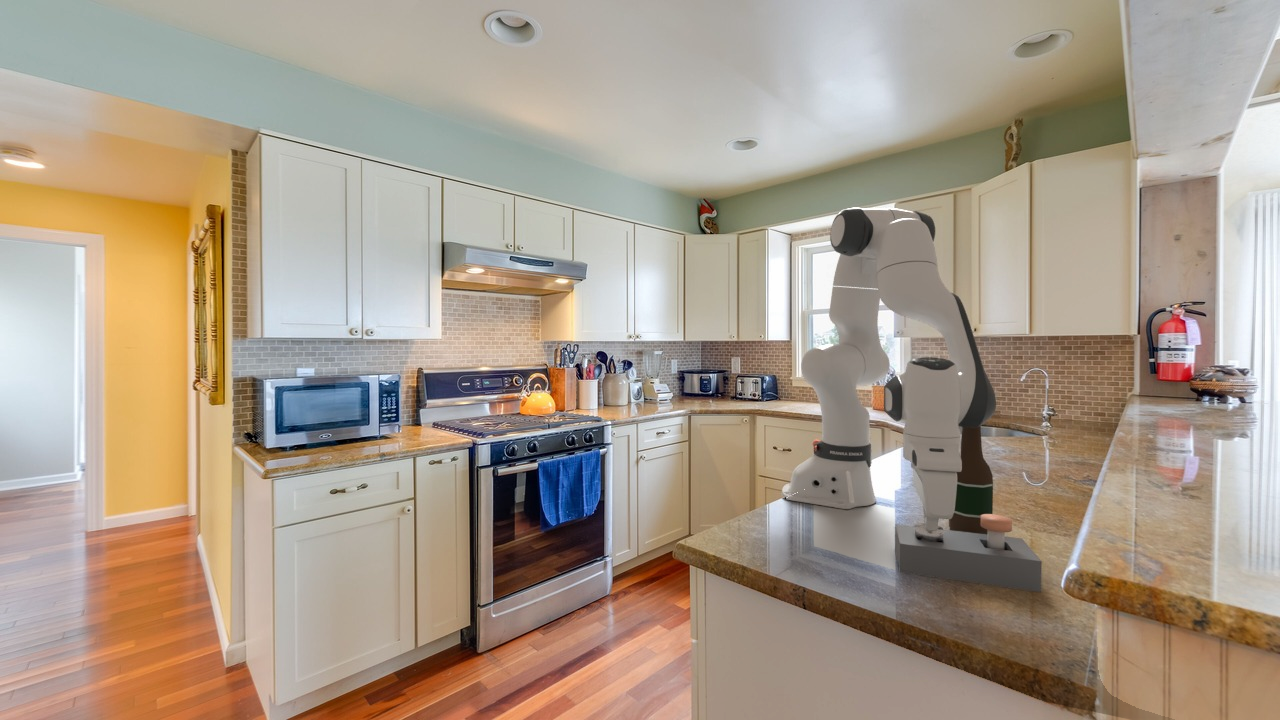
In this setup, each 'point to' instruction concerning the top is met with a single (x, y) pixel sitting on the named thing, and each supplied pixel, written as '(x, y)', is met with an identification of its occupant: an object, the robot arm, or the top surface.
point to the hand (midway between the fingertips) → (930, 527)
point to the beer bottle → (972, 485)
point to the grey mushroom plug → (928, 533)
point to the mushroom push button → (996, 529)
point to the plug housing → (969, 559)
